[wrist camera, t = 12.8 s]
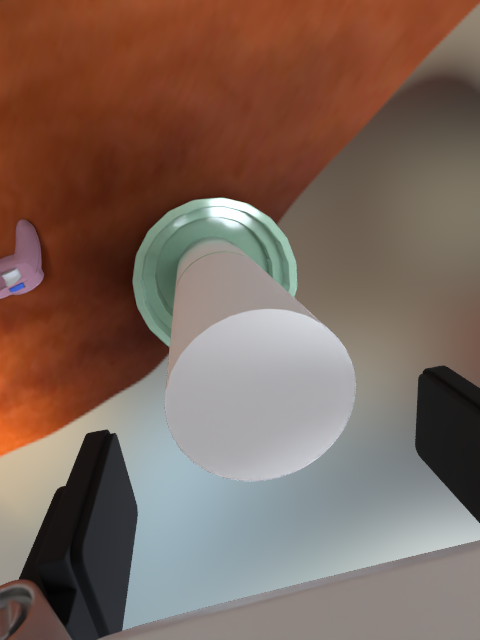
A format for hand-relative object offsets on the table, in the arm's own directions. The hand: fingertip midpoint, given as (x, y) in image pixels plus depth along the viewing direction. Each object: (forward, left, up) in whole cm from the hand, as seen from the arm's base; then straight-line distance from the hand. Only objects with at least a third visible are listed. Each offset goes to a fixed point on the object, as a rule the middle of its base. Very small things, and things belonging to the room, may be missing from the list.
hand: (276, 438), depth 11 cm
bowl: (0, 0, -28) cm, 28 cm away
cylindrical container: (0, 0, -28) cm, 28 cm away
